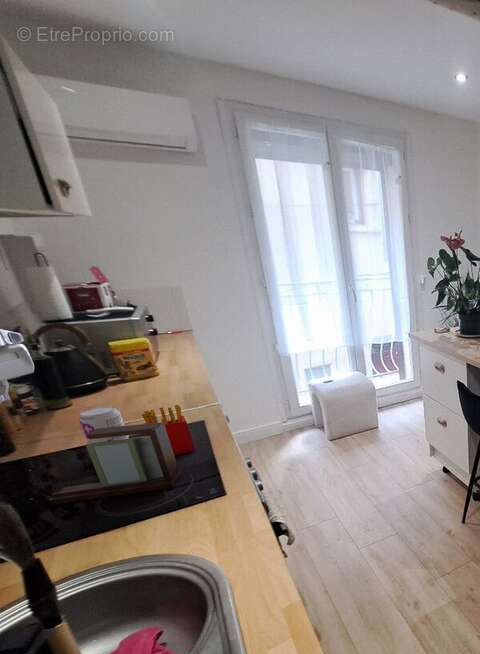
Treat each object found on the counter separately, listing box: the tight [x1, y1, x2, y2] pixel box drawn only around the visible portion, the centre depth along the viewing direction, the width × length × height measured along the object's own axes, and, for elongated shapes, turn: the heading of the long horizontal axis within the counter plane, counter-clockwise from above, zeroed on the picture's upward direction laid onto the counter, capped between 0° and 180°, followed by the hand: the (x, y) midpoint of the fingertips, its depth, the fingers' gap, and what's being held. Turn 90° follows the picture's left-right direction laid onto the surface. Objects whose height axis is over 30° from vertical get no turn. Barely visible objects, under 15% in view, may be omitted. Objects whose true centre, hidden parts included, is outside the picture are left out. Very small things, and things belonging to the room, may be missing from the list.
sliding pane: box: [85, 437, 148, 487], centre depth 103 cm, size 9×1×12 cm, turn 111°
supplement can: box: [78, 406, 130, 443], centre depth 119 cm, size 8×8×15 cm
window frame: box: [49, 422, 182, 506], centre depth 103 cm, size 24×6×17 cm, turn 111°
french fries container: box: [141, 404, 196, 457], centre depth 123 cm, size 7×9×14 cm
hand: (0, 403), depth 90 cm, fingers closed
